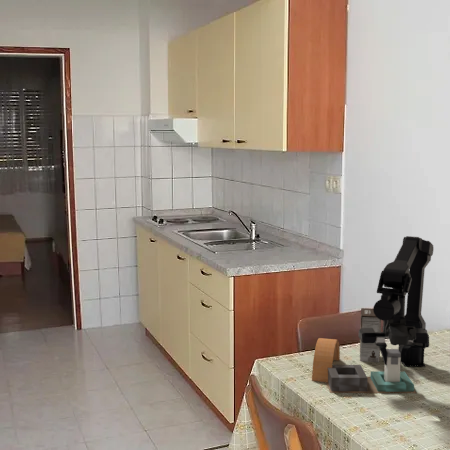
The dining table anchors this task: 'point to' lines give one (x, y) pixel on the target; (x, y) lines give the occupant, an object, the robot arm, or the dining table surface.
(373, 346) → the coffee box
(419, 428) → the dining table surface
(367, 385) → the dock
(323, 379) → the arch
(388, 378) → the plug
